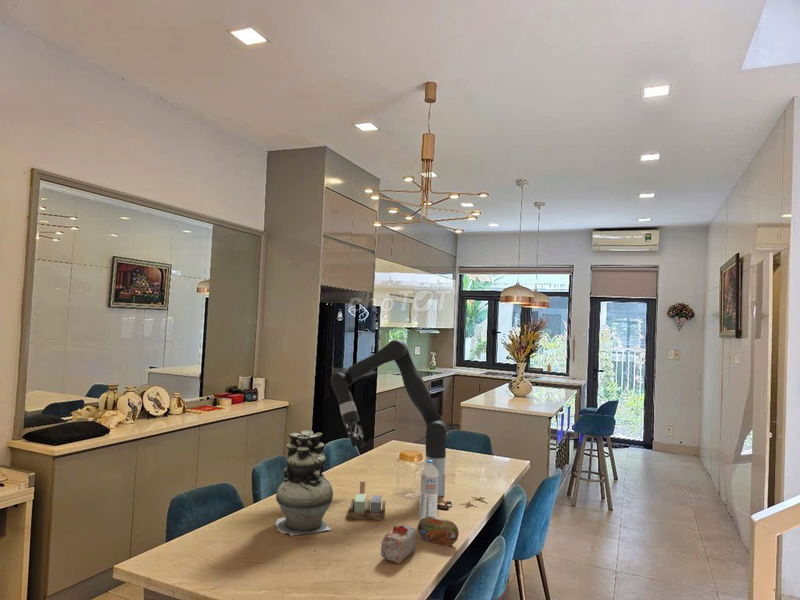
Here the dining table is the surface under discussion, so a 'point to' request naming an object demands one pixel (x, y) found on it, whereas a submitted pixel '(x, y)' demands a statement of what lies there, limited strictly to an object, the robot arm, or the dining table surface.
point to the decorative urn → (304, 486)
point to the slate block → (375, 504)
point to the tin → (438, 531)
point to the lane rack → (366, 514)
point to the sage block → (360, 499)
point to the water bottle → (428, 491)
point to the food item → (399, 543)
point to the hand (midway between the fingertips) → (358, 446)
